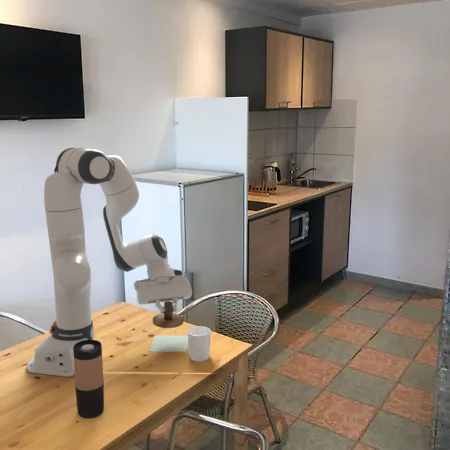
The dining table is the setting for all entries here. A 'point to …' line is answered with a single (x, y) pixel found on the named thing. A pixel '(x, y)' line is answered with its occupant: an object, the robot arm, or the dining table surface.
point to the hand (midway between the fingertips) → (168, 311)
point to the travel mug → (89, 378)
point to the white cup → (199, 343)
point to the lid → (168, 317)
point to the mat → (169, 344)
